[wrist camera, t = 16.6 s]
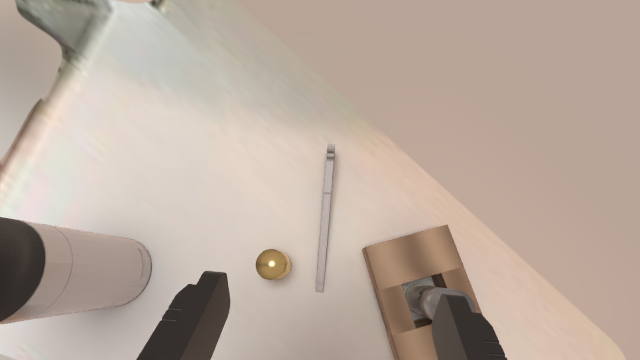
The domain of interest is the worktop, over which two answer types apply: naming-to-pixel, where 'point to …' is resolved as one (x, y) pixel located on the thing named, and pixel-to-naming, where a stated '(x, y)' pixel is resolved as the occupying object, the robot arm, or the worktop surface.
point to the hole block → (408, 265)
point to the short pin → (273, 264)
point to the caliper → (325, 217)
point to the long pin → (430, 299)
